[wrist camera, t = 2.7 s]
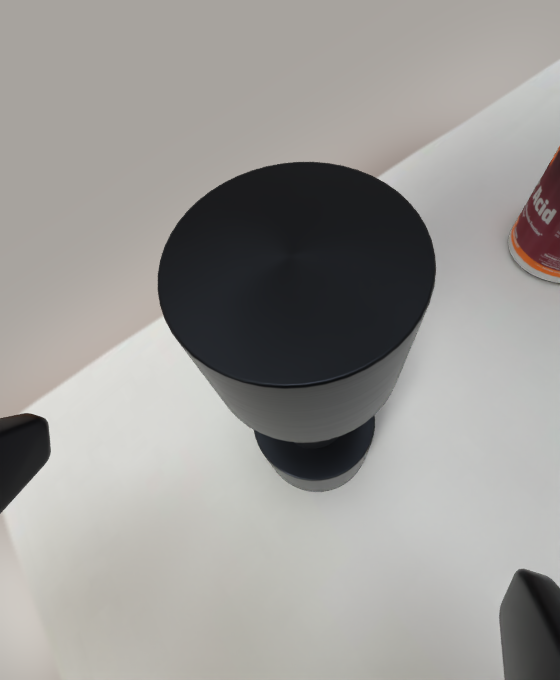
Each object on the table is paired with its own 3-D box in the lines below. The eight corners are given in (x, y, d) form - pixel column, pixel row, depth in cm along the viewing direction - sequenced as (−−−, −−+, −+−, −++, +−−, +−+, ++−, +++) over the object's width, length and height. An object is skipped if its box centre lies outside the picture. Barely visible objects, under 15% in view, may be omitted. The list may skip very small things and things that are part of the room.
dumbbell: (361, 501, 17) (433, 411, 5) (256, 481, 18) (115, 365, 6) (371, 397, 19) (438, 165, 7) (276, 384, 19) (199, 156, 8)
